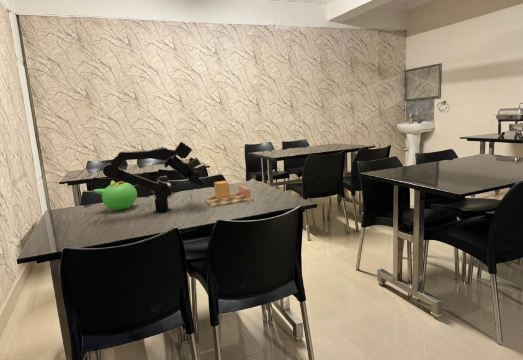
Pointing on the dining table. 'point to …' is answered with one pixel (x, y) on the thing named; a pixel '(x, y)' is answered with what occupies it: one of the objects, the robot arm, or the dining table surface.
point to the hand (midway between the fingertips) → (203, 184)
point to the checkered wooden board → (227, 200)
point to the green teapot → (118, 195)
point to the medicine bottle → (165, 179)
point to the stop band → (244, 191)
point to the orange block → (221, 189)
